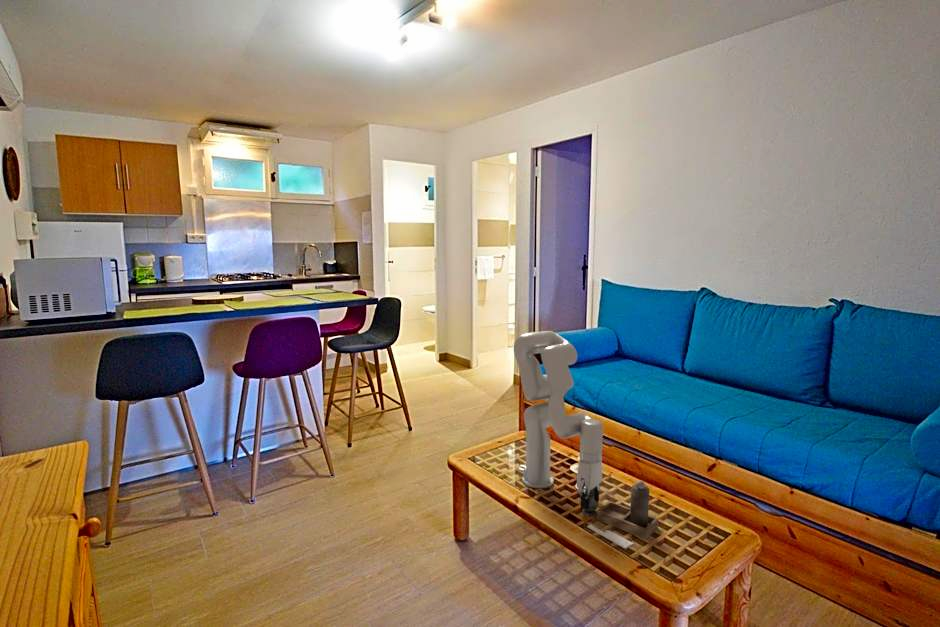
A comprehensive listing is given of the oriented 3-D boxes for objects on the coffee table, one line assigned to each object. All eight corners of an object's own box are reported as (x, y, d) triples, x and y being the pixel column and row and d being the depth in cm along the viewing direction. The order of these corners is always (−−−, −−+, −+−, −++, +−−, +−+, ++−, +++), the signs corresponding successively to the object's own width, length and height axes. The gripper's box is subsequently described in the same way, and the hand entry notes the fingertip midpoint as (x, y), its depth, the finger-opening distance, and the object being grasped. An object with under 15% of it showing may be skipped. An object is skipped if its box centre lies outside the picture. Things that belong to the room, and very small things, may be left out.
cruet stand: (596, 519, 168) (598, 473, 165) (609, 509, 174) (610, 464, 172) (646, 539, 156) (648, 490, 154) (657, 527, 162) (659, 480, 160)
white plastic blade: (597, 523, 166) (597, 520, 166) (635, 544, 154) (635, 541, 154) (587, 528, 163) (587, 525, 163) (624, 550, 151) (625, 546, 151)
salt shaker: (590, 518, 168) (591, 485, 167) (577, 511, 173) (578, 479, 171) (601, 513, 172) (602, 480, 170) (588, 506, 176) (589, 474, 175)
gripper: (593, 445, 178) (592, 492, 181) (568, 460, 166) (567, 510, 168) (612, 450, 173) (611, 499, 176) (587, 466, 161) (586, 518, 163)
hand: (589, 503), depth 172 cm, fingers closed on salt shaker, 5 cm apart
